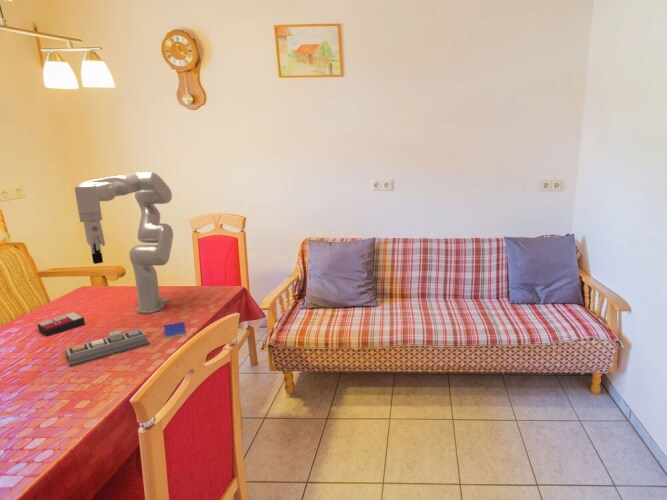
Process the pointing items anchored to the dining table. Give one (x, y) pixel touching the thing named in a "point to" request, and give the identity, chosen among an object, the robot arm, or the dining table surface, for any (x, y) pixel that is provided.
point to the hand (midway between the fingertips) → (98, 262)
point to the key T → (133, 333)
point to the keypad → (106, 348)
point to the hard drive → (174, 330)
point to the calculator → (61, 324)
